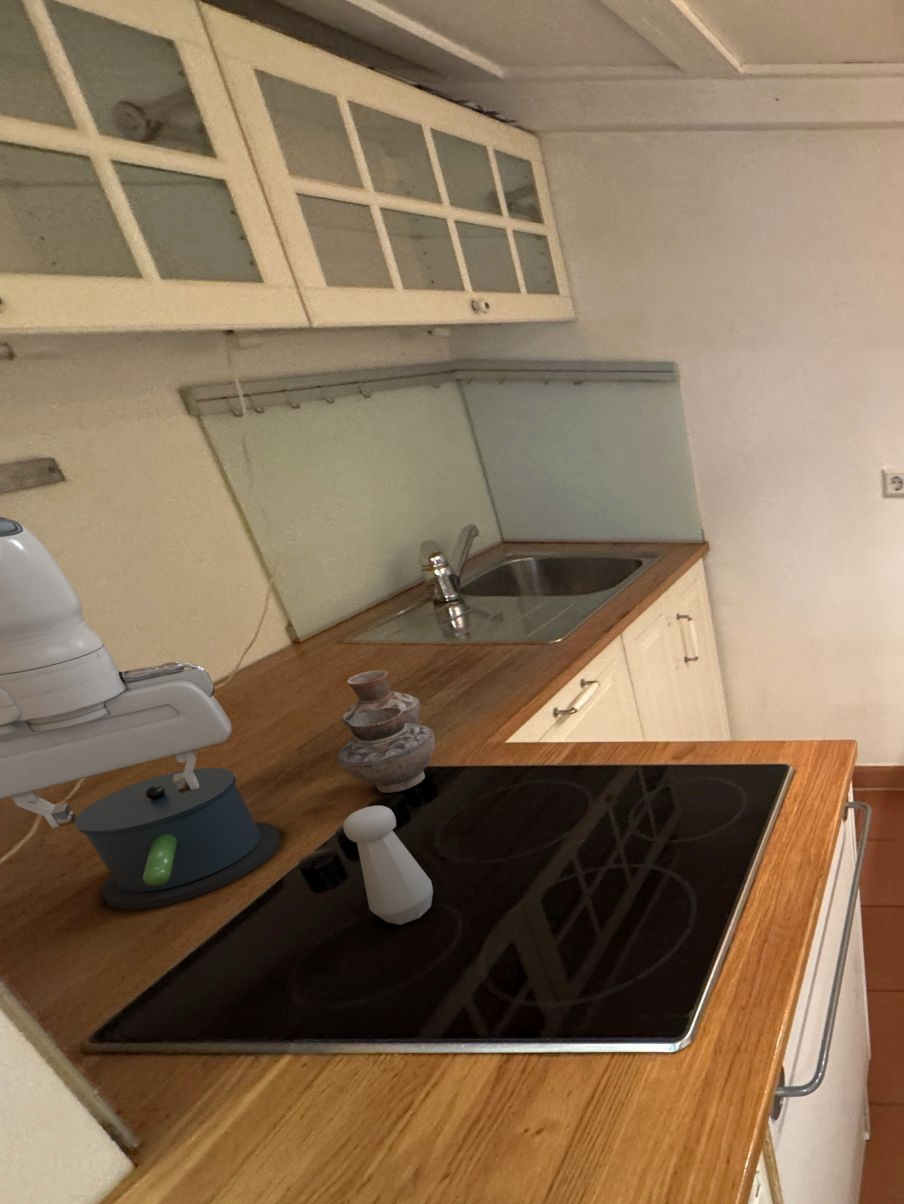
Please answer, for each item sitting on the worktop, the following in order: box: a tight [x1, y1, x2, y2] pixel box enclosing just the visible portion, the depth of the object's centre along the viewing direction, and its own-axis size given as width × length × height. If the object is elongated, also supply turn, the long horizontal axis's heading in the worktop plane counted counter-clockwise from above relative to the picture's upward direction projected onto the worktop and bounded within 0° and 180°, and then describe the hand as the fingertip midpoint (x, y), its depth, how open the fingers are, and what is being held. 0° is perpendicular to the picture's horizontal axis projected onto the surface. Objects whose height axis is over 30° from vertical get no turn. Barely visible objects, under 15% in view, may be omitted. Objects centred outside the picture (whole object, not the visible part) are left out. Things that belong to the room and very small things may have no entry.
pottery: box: [336, 669, 436, 794], centre depth 112 cm, size 11×25×12 cm, turn 38°
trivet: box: [100, 821, 281, 911], centre depth 93 cm, size 16×16×1 cm
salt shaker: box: [342, 805, 434, 926], centre depth 82 cm, size 6×6×13 cm
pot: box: [74, 767, 261, 892], centre depth 88 cm, size 22×14×10 cm, turn 39°
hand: (129, 806), depth 80 cm, fingers open, 8 cm apart
